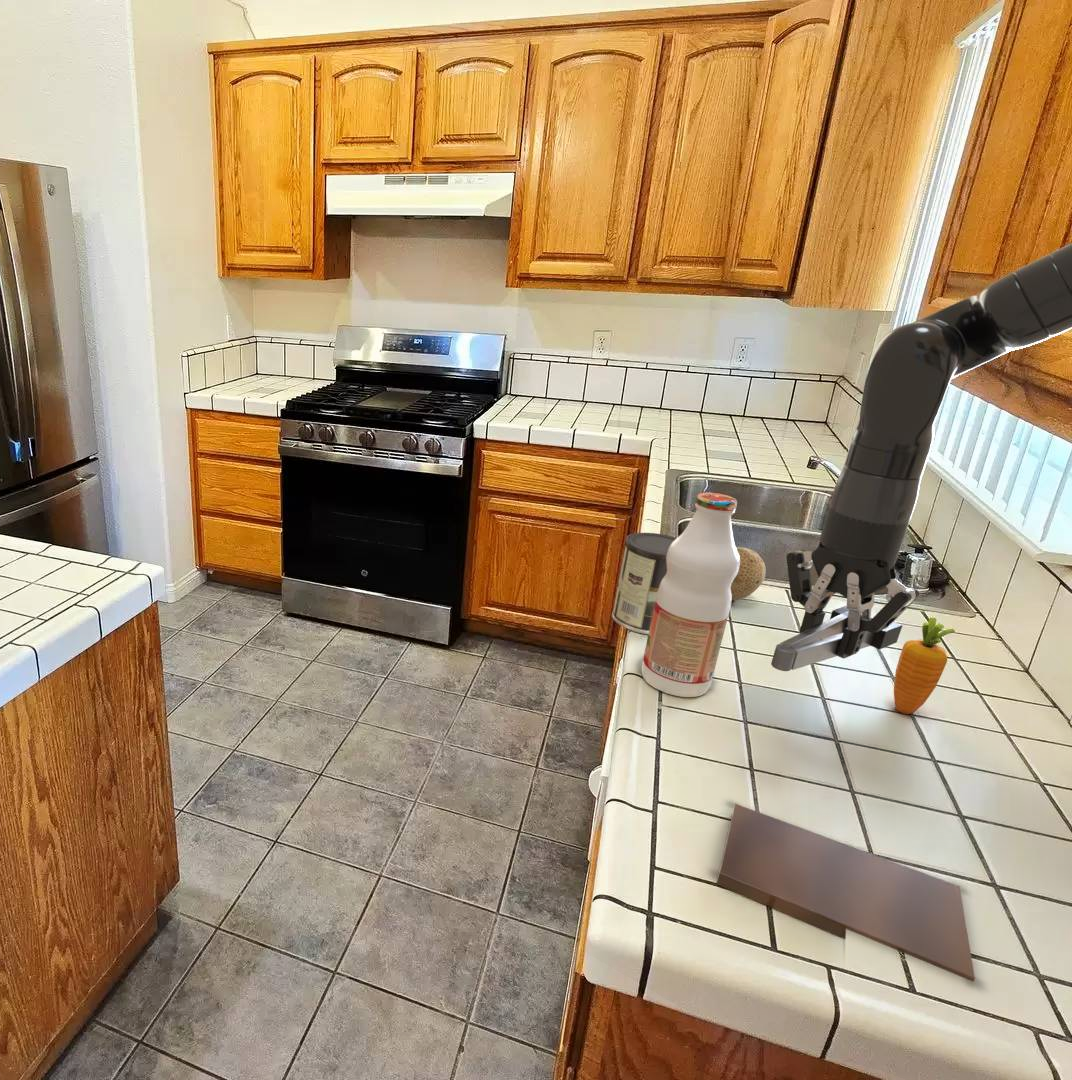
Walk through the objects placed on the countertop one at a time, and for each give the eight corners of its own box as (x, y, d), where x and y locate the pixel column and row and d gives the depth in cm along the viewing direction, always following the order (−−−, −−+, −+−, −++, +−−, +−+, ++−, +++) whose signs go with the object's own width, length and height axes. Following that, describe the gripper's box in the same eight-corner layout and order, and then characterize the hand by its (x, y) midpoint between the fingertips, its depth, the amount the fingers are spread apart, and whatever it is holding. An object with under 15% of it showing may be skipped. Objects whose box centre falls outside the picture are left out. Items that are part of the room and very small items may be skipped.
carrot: (888, 703, 106) (922, 607, 101) (928, 720, 103) (966, 622, 97) (873, 714, 103) (908, 616, 98) (914, 732, 100) (953, 632, 94)
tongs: (844, 621, 96) (849, 604, 95) (896, 642, 91) (903, 625, 90) (749, 656, 86) (754, 637, 85) (803, 682, 81) (809, 663, 80)
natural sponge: (728, 612, 131) (741, 560, 128) (691, 591, 139) (703, 541, 135) (768, 607, 134) (782, 555, 130) (729, 586, 142) (742, 537, 138)
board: (954, 897, 74) (959, 885, 73) (969, 991, 64) (975, 978, 64) (732, 814, 83) (735, 803, 83) (716, 884, 74) (719, 872, 73)
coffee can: (679, 617, 129) (697, 540, 124) (671, 641, 120) (689, 560, 115) (617, 601, 133) (632, 527, 128) (605, 624, 125) (620, 545, 120)
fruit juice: (660, 700, 104) (704, 509, 94) (628, 665, 113) (665, 486, 102) (723, 697, 105) (773, 509, 95) (686, 663, 114) (728, 486, 104)
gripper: (959, 526, 79) (907, 669, 85) (823, 488, 90) (786, 616, 96) (924, 536, 75) (873, 685, 81) (787, 495, 86) (751, 628, 92)
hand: (826, 647), depth 89 cm, fingers closed on tongs, 3 cm apart
